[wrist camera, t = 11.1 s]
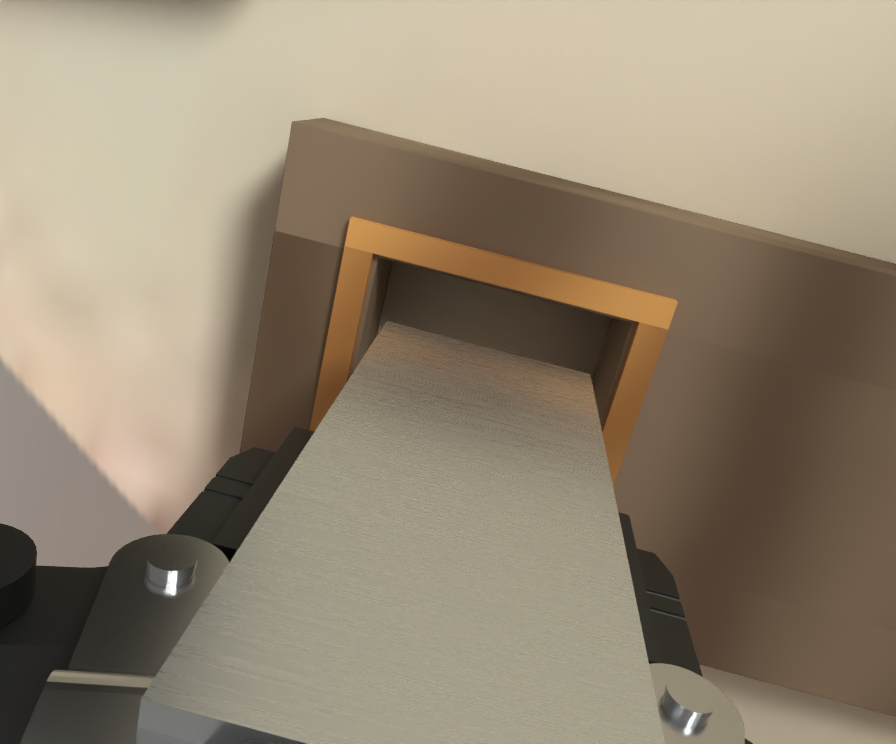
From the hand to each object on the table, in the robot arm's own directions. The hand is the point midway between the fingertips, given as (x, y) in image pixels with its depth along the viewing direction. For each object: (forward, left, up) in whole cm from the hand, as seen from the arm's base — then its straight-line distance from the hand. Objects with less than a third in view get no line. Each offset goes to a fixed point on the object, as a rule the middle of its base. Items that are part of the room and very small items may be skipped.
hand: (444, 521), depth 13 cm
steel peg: (0, 0, -3) cm, 3 cm away
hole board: (-7, 0, -8) cm, 10 cm away
